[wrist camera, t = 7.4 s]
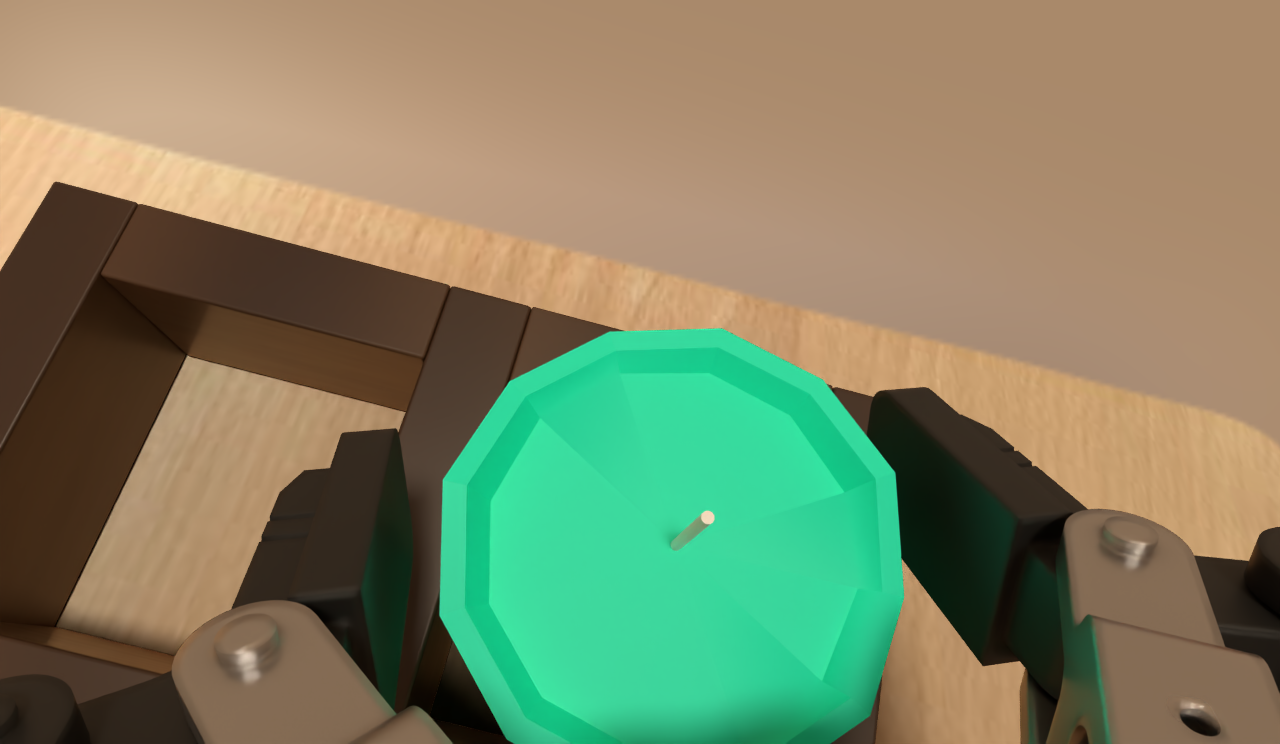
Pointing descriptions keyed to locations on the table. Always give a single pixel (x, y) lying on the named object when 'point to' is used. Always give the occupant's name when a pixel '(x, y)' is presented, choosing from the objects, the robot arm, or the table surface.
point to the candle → (671, 549)
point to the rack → (246, 339)
